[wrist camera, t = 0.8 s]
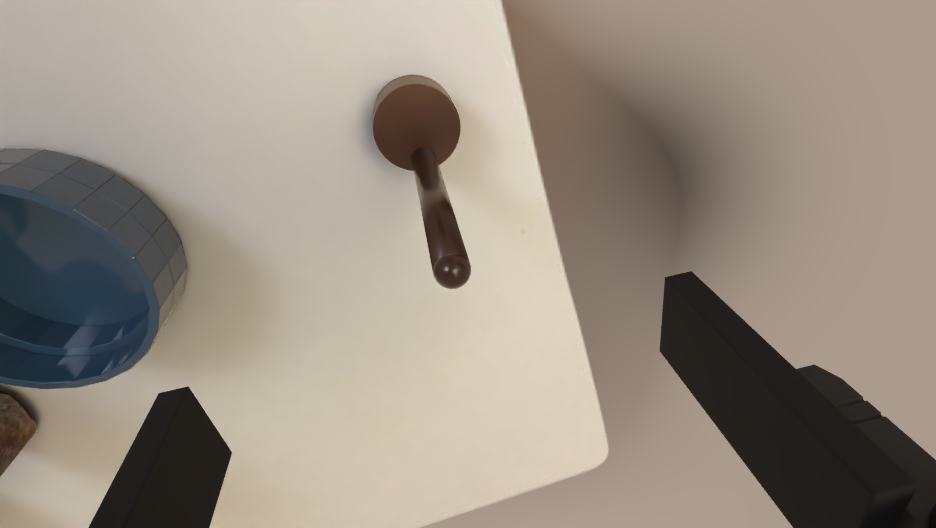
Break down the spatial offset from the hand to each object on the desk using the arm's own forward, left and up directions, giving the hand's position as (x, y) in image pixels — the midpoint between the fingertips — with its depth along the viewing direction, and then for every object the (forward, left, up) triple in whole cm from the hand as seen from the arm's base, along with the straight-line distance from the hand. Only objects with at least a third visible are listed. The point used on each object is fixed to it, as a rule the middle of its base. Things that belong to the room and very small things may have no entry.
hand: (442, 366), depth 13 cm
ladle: (-1, +1, -24) cm, 24 cm away
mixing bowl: (+4, -25, -24) cm, 35 cm away
